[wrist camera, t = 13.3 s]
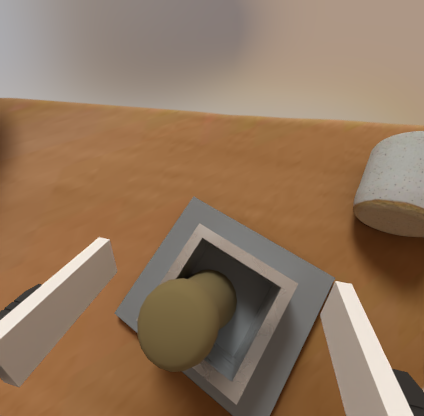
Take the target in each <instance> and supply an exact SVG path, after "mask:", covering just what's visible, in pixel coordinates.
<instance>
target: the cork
mask: <svg viewBox="0 0 424 416" xmlns="http://www.w3.org/2000/svg"><path fill="white" fill-rule="evenodd" d="M236 304H237V297H236V291H235V289H234V287H233V284H232V282H231V281H230V280H229V279H228V278H227V277H226V276H225V275H224V274H222V273H220V272H219V271H215V270H210V269H208V270H201V271H199V272H197V273H195V274H193V275H192V276H191V277H189V278H188V279H185V278H181V279H173V280H168V281H166V282H164V283H162V284H160V285H158V286H157V287H156V288H155V289H154V290H153V291H152V292H151V293H150V294H149V295H148V296H147V297H146V299H145V301H144V303H143V304H142V306H141V308H140V312H139V316H138V320H137V326H138V339H139V342H140V346H141V349H142V350H143V352H144V353H145V355H146V356H147V358H148V359H149V360H150V361H151V362H153V363H154V364H155V365H156V366H158V367H159V368H161V369H164V370H167V371H170V372H177V371H185V370H187V369H190V368H192V367H194V366H196V365H198V364H200V363H201V362H202V361H203V359H204V358H205V357H206V356H207V355H208V354H209V353H210V351H211V349H212V347H213V345H214V343H215V341H216V339H217V336H218V331H219V330H220V329H221V328H223V327H224V326H225V325H226V324H227V323H228V322H229V321H230V320H231V319H232V317H233V315H234V313H235V311H236Z"/></svg>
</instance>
